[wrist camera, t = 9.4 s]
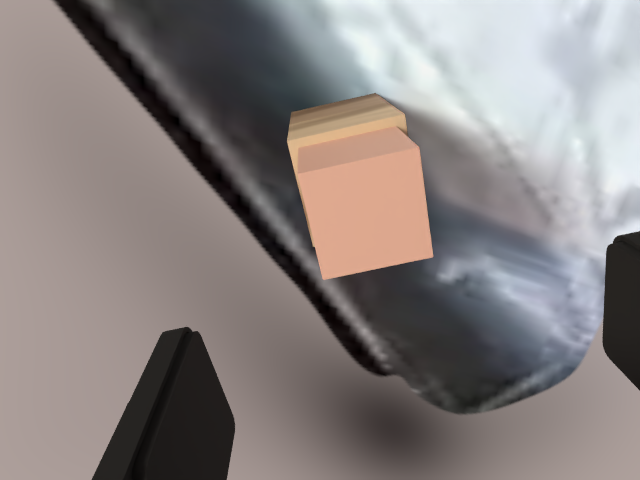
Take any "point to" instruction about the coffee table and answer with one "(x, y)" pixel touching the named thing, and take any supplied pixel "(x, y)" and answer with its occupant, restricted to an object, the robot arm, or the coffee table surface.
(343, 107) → the tower base
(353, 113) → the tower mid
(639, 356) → the robot arm
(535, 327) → the coffee table surface
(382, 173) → the terracotta block
